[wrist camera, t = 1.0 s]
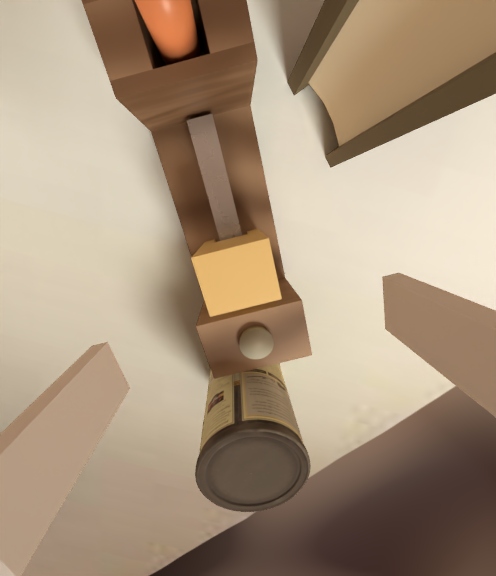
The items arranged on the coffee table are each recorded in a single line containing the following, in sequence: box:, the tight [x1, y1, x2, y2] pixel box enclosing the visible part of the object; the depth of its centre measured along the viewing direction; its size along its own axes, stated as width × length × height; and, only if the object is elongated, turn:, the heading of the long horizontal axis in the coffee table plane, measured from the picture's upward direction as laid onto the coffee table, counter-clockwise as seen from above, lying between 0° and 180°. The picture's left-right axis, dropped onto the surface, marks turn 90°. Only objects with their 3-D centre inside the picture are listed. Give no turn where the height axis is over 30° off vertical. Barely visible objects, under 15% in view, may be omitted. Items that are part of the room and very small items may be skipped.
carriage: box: [191, 229, 282, 317], centre depth 23 cm, size 5×6×9 cm
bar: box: [187, 114, 242, 241], centre depth 25 cm, size 17×2×2 cm, turn 14°
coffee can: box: [195, 363, 310, 512], centre depth 28 cm, size 10×10×14 cm
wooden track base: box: [82, 0, 312, 379], centre depth 23 cm, size 30×10×10 cm, turn 14°
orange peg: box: [135, 0, 200, 65], centre depth 15 cm, size 3×3×6 cm
